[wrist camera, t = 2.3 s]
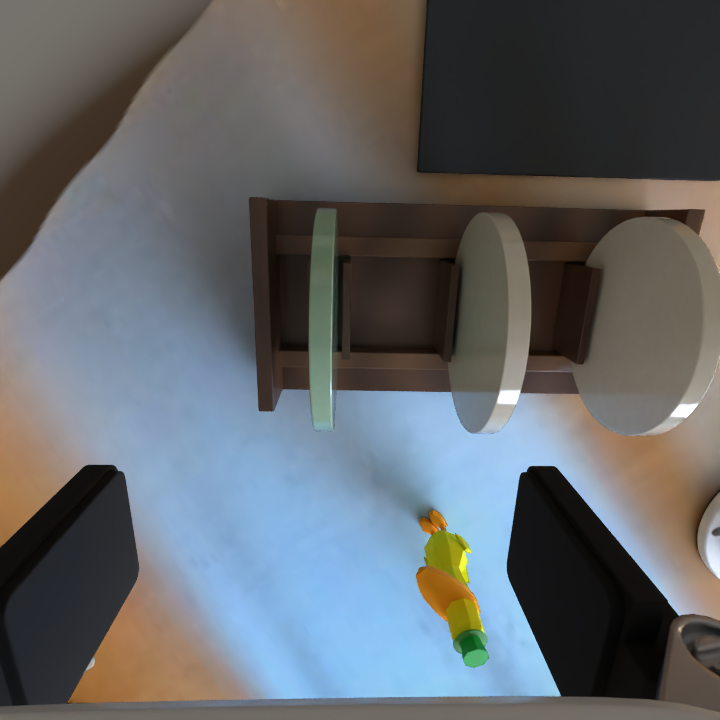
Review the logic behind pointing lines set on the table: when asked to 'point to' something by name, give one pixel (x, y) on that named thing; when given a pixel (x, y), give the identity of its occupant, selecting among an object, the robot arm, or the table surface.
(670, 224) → the cream plate
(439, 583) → the toy figure
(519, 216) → the plate rack
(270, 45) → the table surface
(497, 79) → the mat
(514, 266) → the cream plate
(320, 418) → the green plate
